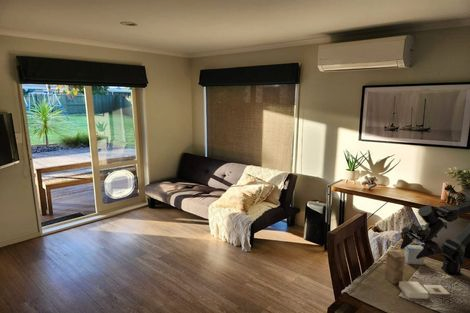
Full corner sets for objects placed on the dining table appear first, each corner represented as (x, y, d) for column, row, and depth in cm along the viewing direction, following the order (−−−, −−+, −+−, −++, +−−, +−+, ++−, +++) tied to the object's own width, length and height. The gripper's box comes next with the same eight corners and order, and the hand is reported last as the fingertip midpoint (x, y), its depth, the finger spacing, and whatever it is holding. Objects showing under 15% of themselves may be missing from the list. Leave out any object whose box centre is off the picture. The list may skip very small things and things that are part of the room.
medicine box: (419, 260, 156) (421, 245, 154) (423, 265, 151) (425, 249, 150) (403, 259, 157) (405, 244, 155) (407, 264, 152) (409, 248, 151)
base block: (416, 287, 134) (417, 281, 133) (427, 299, 126) (428, 292, 125) (398, 287, 134) (399, 281, 133) (408, 298, 126) (409, 292, 125)
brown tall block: (394, 276, 142) (396, 251, 139) (401, 282, 137) (405, 256, 134) (384, 277, 141) (387, 252, 138) (392, 283, 136) (395, 257, 133)
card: (440, 285, 134) (440, 284, 134) (449, 294, 128) (449, 293, 128) (422, 285, 135) (422, 284, 134) (430, 294, 129) (430, 293, 129)
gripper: (406, 211, 145) (384, 234, 145) (440, 226, 127) (415, 253, 127) (418, 224, 148) (397, 247, 148) (453, 242, 130) (428, 268, 130)
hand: (408, 253), depth 138 cm, fingers open, 9 cm apart
